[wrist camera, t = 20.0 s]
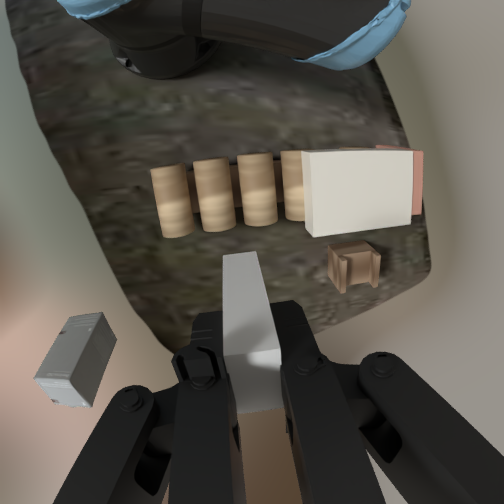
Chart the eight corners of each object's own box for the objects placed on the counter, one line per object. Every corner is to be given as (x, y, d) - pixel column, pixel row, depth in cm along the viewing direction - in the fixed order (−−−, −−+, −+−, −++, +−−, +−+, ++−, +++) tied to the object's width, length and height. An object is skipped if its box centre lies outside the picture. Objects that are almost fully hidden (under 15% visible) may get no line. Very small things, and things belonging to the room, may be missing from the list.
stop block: (375, 145, 37) (410, 150, 29) (387, 145, 37) (423, 151, 29) (376, 198, 40) (409, 215, 32) (387, 197, 40) (421, 214, 32)
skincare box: (103, 310, 44) (68, 376, 29) (120, 342, 47) (94, 410, 32) (67, 316, 44) (28, 375, 29) (84, 346, 47) (54, 407, 32)
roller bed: (160, 164, 36) (146, 171, 30) (375, 145, 37) (401, 149, 31) (170, 221, 39) (159, 239, 33) (376, 198, 40) (400, 210, 34)
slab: (301, 150, 30) (309, 152, 27) (398, 148, 31) (412, 150, 28) (305, 228, 34) (313, 237, 31) (397, 217, 35) (410, 224, 32)
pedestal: (328, 244, 43) (341, 261, 37) (363, 240, 43) (381, 255, 38) (327, 274, 45) (340, 293, 39) (362, 269, 45) (377, 286, 40)
